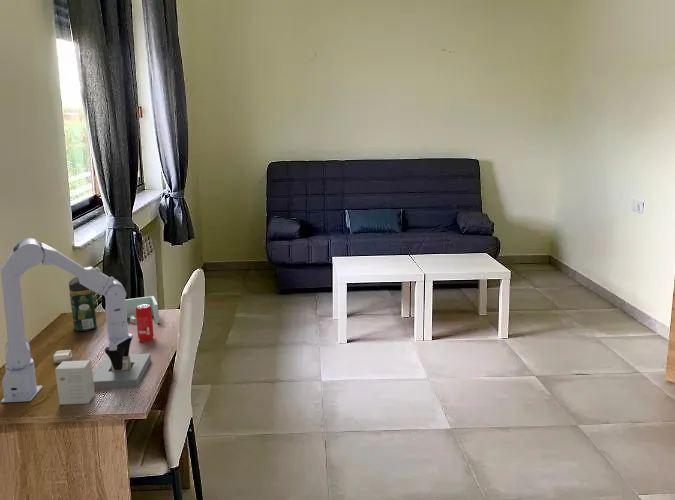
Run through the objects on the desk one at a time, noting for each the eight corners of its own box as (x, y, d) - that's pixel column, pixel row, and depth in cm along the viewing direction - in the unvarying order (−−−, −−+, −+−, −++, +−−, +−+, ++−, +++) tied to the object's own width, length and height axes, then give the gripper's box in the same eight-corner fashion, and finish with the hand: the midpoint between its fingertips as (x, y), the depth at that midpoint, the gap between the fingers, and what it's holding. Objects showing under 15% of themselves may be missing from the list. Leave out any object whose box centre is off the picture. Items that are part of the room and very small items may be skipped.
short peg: (69, 362, 211) (68, 354, 210) (54, 363, 210) (53, 355, 209) (72, 357, 215) (71, 349, 214) (57, 358, 214) (56, 350, 214)
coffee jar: (73, 325, 245) (67, 276, 241) (95, 321, 248) (90, 273, 244) (74, 333, 237) (68, 282, 232) (97, 329, 240) (92, 279, 235)
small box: (95, 395, 186) (91, 359, 183) (88, 404, 180) (84, 367, 178) (66, 396, 186) (62, 360, 183) (59, 405, 180) (54, 368, 178)
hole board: (137, 387, 190) (136, 379, 189) (90, 389, 189) (89, 381, 189) (150, 360, 209) (150, 353, 209) (108, 362, 209) (108, 355, 208)
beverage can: (135, 340, 228) (131, 307, 225) (145, 336, 232) (142, 303, 229) (146, 343, 225) (143, 309, 222) (157, 338, 230) (154, 304, 227)
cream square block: (128, 377, 197) (126, 361, 196) (112, 378, 197) (111, 362, 196) (131, 371, 202) (129, 356, 200) (116, 372, 201) (115, 357, 200)
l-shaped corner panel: (122, 319, 252) (120, 300, 250) (155, 314, 256) (153, 296, 254) (125, 328, 241) (123, 308, 239) (159, 324, 245) (157, 304, 243)
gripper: (125, 328, 189) (129, 373, 192) (136, 313, 203) (140, 354, 206) (99, 330, 188) (104, 374, 191) (112, 314, 202) (116, 356, 205)
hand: (121, 364), depth 199 cm, fingers open, 7 cm apart
